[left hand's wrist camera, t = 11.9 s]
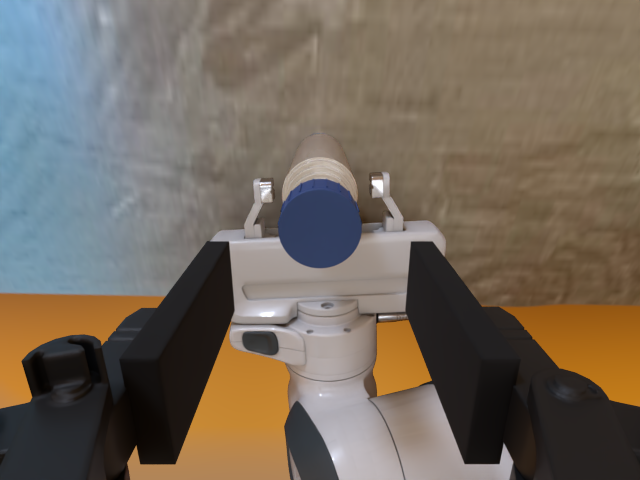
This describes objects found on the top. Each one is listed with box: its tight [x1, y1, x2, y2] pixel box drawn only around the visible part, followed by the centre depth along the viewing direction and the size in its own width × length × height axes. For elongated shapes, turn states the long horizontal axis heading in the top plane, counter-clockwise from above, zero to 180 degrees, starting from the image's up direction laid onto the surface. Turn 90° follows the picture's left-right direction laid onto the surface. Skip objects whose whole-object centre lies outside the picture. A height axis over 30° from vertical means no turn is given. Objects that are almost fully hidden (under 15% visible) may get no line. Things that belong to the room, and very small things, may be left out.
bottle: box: [282, 134, 358, 202], centre depth 29 cm, size 5×5×21 cm
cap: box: [278, 179, 362, 268], centre depth 20 cm, size 4×4×2 cm
